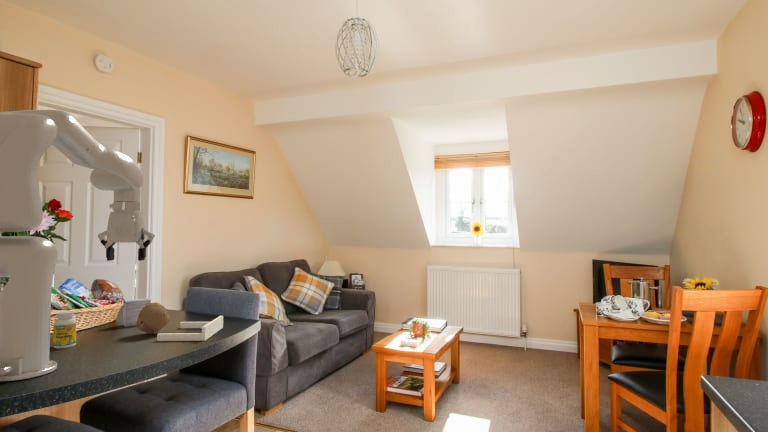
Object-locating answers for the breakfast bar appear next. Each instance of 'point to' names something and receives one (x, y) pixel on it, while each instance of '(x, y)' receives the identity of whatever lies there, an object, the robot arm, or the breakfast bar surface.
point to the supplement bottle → (64, 330)
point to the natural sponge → (152, 318)
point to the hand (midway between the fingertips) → (126, 260)
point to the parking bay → (207, 332)
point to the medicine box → (133, 310)
